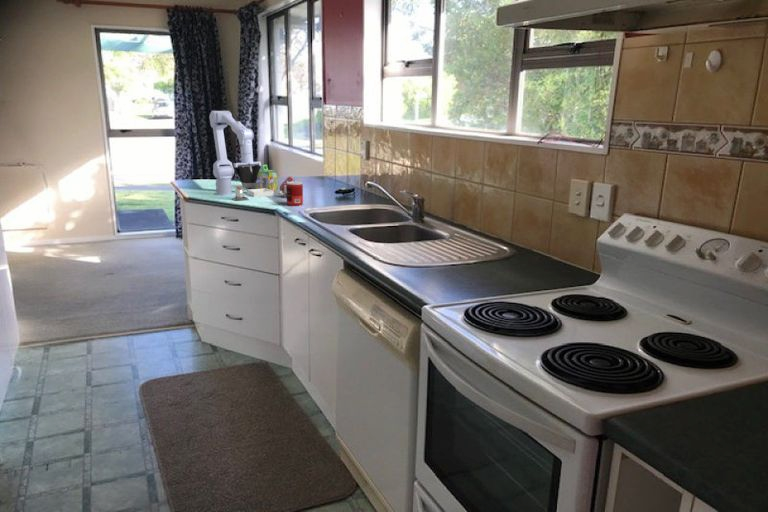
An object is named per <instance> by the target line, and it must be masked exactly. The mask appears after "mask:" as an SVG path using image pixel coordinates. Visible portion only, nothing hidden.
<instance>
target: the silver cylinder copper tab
mask: <svg viewBox="0 0 768 512" xmlns="http://www.w3.org/2000/svg"><path fill="white" fill-rule="evenodd" d="M234 195H235V197H236V200H238V199H244V197H245V195H244V187H243V186H239V185H237V186H236V188H235V190H234Z"/></svg>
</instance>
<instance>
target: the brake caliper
mask: <svg viewBox="0 0 768 512" xmlns="http://www.w3.org/2000/svg"><path fill="white" fill-rule="evenodd" d="M287 182H297V180H295V179H294V178H293V177H292V176H290V175H289V176H288V177H287V178H285V180H284V181H283V182H282V183H281V184H280V185H279V191H278V195H280V196H279V199H287V190H286V183H287ZM282 197H283V198H282Z"/></svg>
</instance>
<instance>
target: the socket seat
mask: <svg viewBox="0 0 768 512" xmlns="http://www.w3.org/2000/svg"><path fill="white" fill-rule="evenodd" d="M229 200H231V201H232V202H242V201H245V202H246V201H250V199H249V198H248V197H246V196H244V199H238V200H236V196H235V197H231V198H229Z"/></svg>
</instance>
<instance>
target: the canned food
mask: <svg viewBox="0 0 768 512" xmlns="http://www.w3.org/2000/svg"><path fill="white" fill-rule="evenodd" d="M285 186H286V190H287V198H286V204H287V206H290V207H300V206H299V205H301V206H303V205H304V198H303V197H304V191H303V190H304V189H303V188H304V186H303V182H302V181H296V182H288V181H287V183H286V185H285ZM302 204H303V205H302Z"/></svg>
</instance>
